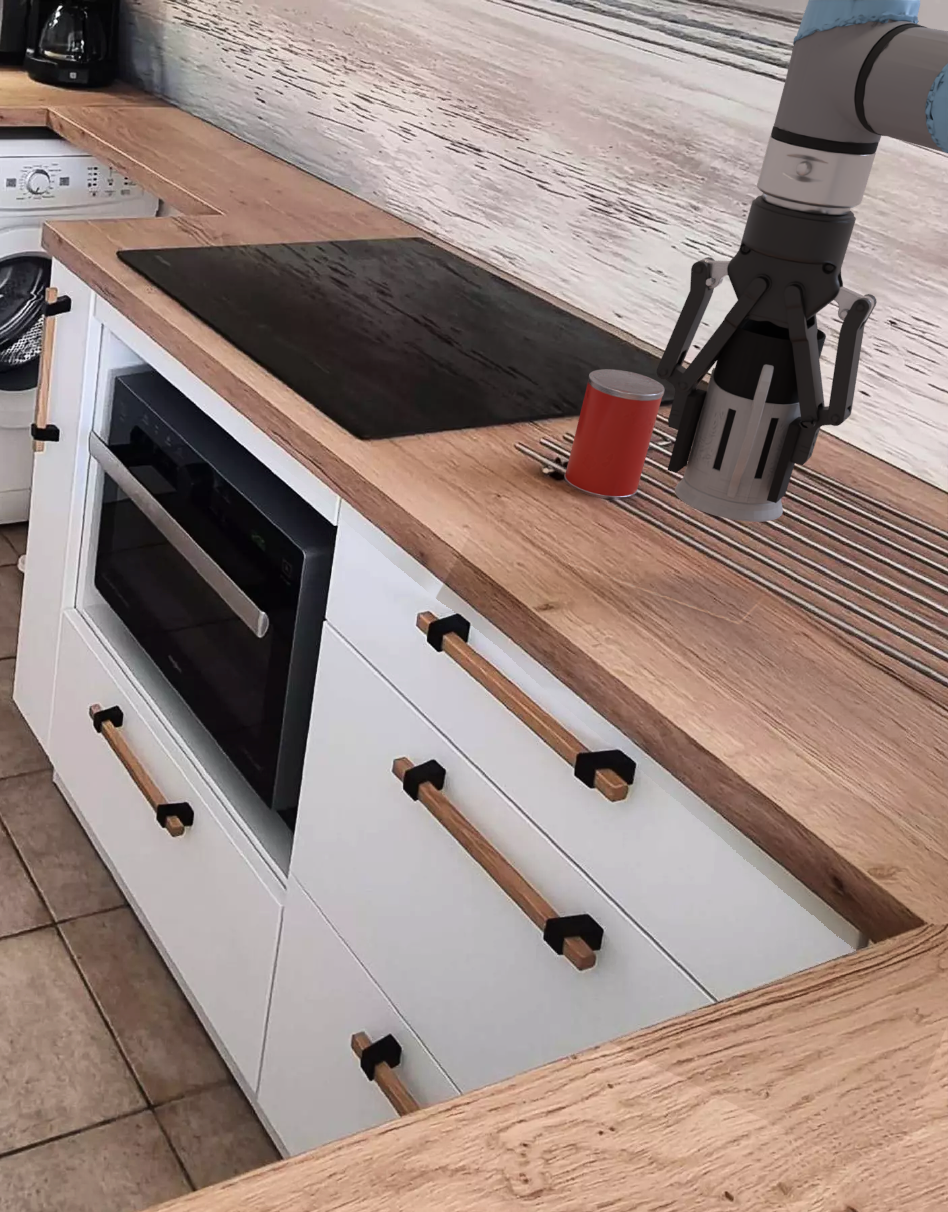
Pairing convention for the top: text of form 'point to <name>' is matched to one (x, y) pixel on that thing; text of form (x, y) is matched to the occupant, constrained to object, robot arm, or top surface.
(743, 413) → the glass holder
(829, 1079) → the top surface
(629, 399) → the sauce can
